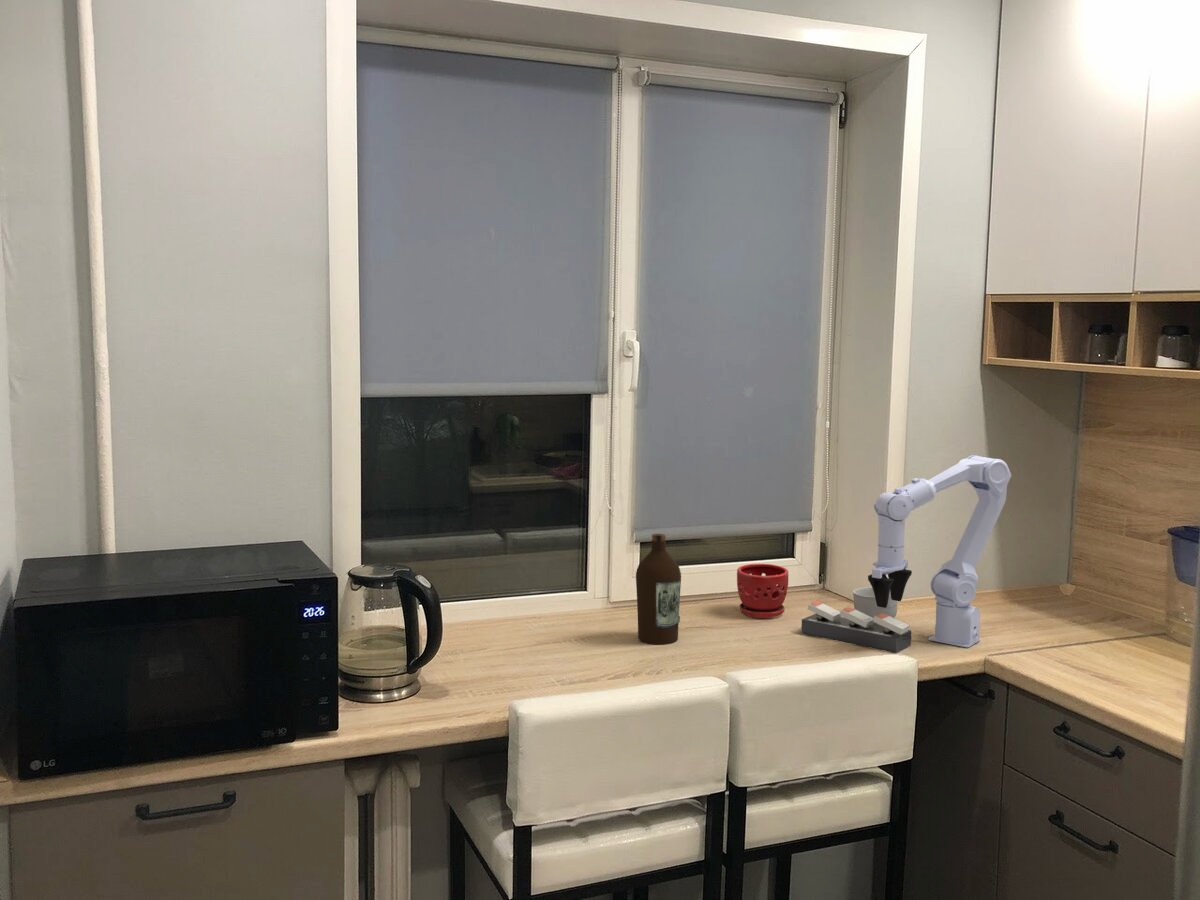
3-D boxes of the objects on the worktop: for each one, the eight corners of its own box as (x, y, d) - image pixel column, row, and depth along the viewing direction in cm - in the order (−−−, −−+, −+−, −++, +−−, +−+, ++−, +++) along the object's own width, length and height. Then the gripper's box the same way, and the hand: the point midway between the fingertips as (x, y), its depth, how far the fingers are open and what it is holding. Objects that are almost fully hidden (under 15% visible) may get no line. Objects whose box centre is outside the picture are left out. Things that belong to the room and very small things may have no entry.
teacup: (887, 630, 247) (888, 598, 246) (845, 622, 253) (845, 591, 252) (907, 617, 258) (908, 587, 257) (867, 611, 264) (868, 581, 263)
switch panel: (910, 645, 234) (911, 625, 234) (896, 653, 228) (896, 632, 228) (817, 626, 250) (818, 607, 249) (801, 633, 244) (801, 614, 243)
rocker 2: (873, 624, 238) (875, 618, 237) (865, 627, 235) (867, 621, 234) (847, 611, 242) (848, 605, 241) (839, 615, 239) (841, 609, 238)
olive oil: (626, 637, 241) (627, 533, 238) (662, 630, 246) (663, 528, 244) (653, 648, 232) (654, 540, 229) (689, 640, 238) (690, 535, 235)
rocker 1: (840, 617, 243) (842, 611, 243) (832, 621, 240) (834, 615, 240) (815, 605, 247) (816, 599, 247) (807, 609, 244) (808, 603, 244)
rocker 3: (908, 630, 232) (910, 624, 232) (900, 634, 229) (902, 628, 229) (880, 617, 236) (882, 611, 236) (872, 621, 233) (874, 615, 233)
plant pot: (726, 611, 264) (727, 566, 263) (768, 605, 270) (769, 561, 268) (754, 623, 252) (755, 576, 251) (798, 617, 258) (799, 571, 257)
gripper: (888, 538, 239) (886, 594, 241) (860, 547, 229) (858, 606, 230) (917, 542, 235) (915, 599, 236) (889, 552, 224) (887, 612, 225)
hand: (889, 603), depth 233 cm, fingers open, 7 cm apart
